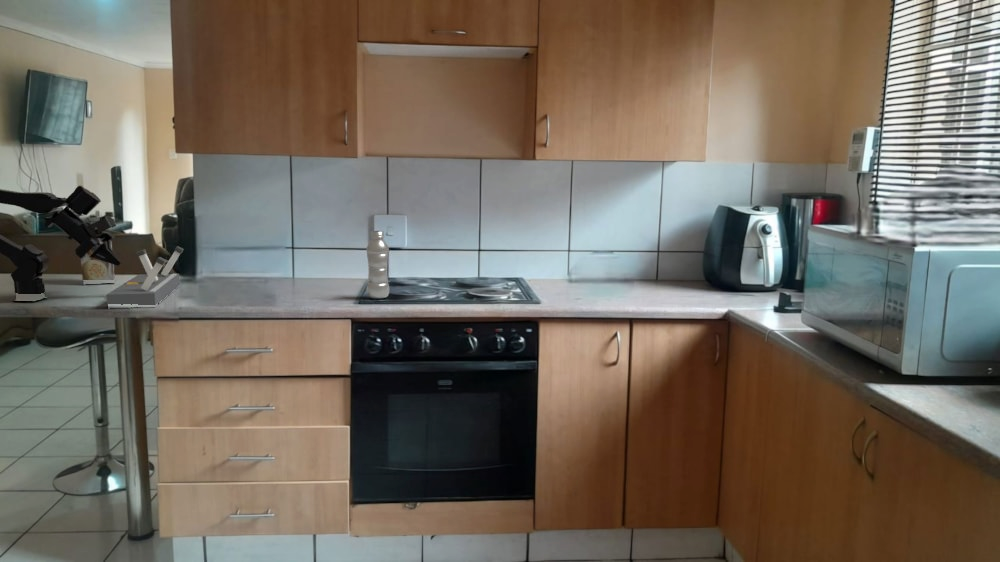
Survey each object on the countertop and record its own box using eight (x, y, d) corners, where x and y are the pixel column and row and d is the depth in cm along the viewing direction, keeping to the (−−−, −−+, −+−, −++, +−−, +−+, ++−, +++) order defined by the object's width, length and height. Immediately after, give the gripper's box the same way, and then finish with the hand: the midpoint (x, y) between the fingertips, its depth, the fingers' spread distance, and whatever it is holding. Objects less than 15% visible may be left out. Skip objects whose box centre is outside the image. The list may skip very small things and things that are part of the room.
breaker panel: (107, 309, 194) (106, 293, 194) (139, 287, 228) (138, 273, 227) (155, 307, 197) (154, 292, 196) (179, 286, 231) (179, 272, 230)
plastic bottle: (369, 296, 217) (367, 230, 214) (391, 296, 217) (390, 230, 214) (364, 300, 211) (363, 232, 207) (387, 300, 210) (386, 232, 207)
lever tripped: (150, 283, 211) (135, 252, 209) (152, 281, 214) (138, 251, 211) (157, 280, 211) (142, 250, 209) (159, 279, 214) (145, 249, 212)
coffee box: (116, 281, 239) (112, 232, 236) (114, 284, 233) (110, 234, 231) (84, 282, 235) (80, 233, 233) (82, 285, 230) (77, 235, 227)
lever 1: (139, 287, 198) (157, 257, 198) (142, 285, 201) (160, 256, 201) (146, 291, 199) (164, 261, 199) (149, 289, 202) (166, 260, 201)
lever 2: (160, 273, 223) (176, 247, 223) (162, 272, 226) (177, 246, 226) (166, 276, 224) (182, 250, 224) (168, 275, 226) (183, 249, 226)
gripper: (84, 209, 196) (131, 248, 201) (104, 204, 214) (147, 241, 219) (55, 238, 196) (103, 277, 200) (77, 231, 214) (121, 267, 218)
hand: (120, 264), depth 209 cm, fingers closed
